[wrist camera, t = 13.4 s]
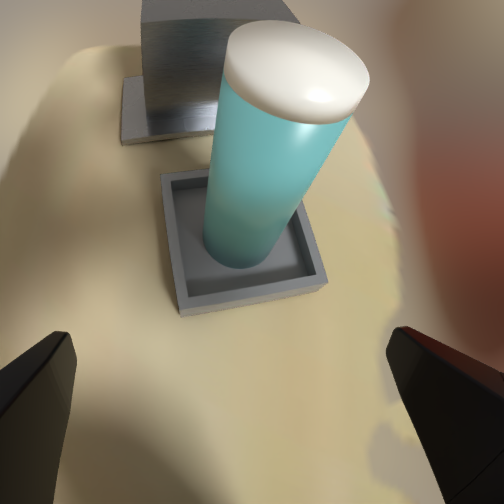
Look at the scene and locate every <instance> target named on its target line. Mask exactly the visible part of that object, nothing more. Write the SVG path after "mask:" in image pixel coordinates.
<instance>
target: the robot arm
mask: <svg viewBox="0 0 504 504" xmlns="http://www.w3.org/2000/svg"><path fill="white" fill-rule="evenodd" d="M386 357H387V360H388V363H389V365H390V368H391V371H392V374H393V377H394V379H395V382H396V385H397V388H398V391H399V394H400V396H401V399H402V401H403V403H404V406H405V408H406V410H407V412H408V414H409V417H410V419H411V421H412V423H413V426H414V428H415V430H416V432H417V435H418V437H419V439H420V442H421V444H422V446H423V449H424V451H425V453H426V456H427V458H428V461H429V463H430V466H431V468H432V471H433V473H434V475H435V478H436V481H437V483H438V485H439V488H440V491H441V493H442V496H443V499H444V501H445V504H504V373H502V372H499V371H498V370H496V369H494V368H492V367H490V366H488V365H486V364H484V363H482V362H480V361H478V360H475V359H473V358H471V357H469V356H467V355H465V354H463V353H461V352H459V351H457V350H455V349H453V348H451V347H449V346H447V345H445V344H443V343H441V342H439V341H437V340H435V339H433V338H431V337H429V336H426V335H424V334H423V333H420V332H419V331H416V330H415V329H412V328H410V327H408V326H402V327H397V328H395V329H394V330H393V332H392V335H391V338H390V340H389V343H388V345H387V348H386ZM76 366H77V357H76V353H75V350H74V346H73V343H72V339H71V336H70V334H69V333H68V332H62V331H54V332H52V333H51V334H50V335H48V336H47V337H45V338H44V339H42V340H41V341H40V342H38V343H37V344H35V345H34V346H33V347H31V348H30V349H28V350H27V351H26V352H24V353H23V354H22V355H20V356H19V357H17V358H16V359H15V360H13V361H12V362H11V363H9V364H8V365H6V366H5V367H4V368H2V369H1V370H0V504H53V500H54V493H55V486H56V480H57V474H58V468H59V462H60V457H61V452H62V447H63V442H64V437H65V432H66V428H67V423H68V419H69V414H70V408H71V400H72V393H73V386H74V379H75V372H76Z"/></svg>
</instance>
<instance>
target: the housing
mask: <svg viewBox="0 0 504 504" xmlns="http://www.w3.org/2000/svg"><path fill="white" fill-rule="evenodd" d="M262 20H278V21H287V22H293V23H298V24H300V22H299V21H298V20H297V18H296V17H295V16H294V15H293V13H292V12H291V11H290V9H289V8H288V7H287V6H286V4H285V3H284V2H283V1H282V0H142V11H141V49H142V69H143V75H142V76H135V77H128V78H124V85H123V103H122V131H121V141H122V146H123V145H129V144H136V143H143V142H150V141H158V140H166V139H174V138H183V137H193V136H204V135H214V129H215V122H216V115H217V108H218V101H219V94H220V87H221V81H222V75H223V68H224V62H225V56H226V50H227V44H228V39H229V36H230V35H231V33H232V32H233V31H234V30H235V29H236V28H238V27H240V26H242V25H244V24H247V23H250V22H255V21H262Z"/></svg>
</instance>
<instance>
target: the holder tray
mask: <svg viewBox="0 0 504 504" xmlns="http://www.w3.org/2000/svg"><path fill="white" fill-rule="evenodd" d="M209 169H210V168H209ZM209 169H200V170H191V171H183V172H175V173H167V174H160V178H161V187H162V196H163V205H164V213H165V221H166V229H167V236H168V243H169V250H170V257H171V264H172V270H173V277H174V283H175V289H176V295H177V300H178V306H179V312H180V317H186V316H192V315H198V314H203V313H209V312H215V311H220V310H226V309H231V308H237V307H242V306H247V305H253V304H258V303H263V302H268V301H273V300H278V299H283V298H288V297H293V296H297V295H302V294H307V293H312V292H316V291H318V290H319V289H320V288H322V287H323V286H324V285H326V284H327V283H328V279H327V276H326V272H325V269H324V266H323V263H322V259H321V256H320V253H319V250H318V247H317V243H316V240H315V237H314V234H313V231H312V228H311V225H310V222H309V219H308V216H307V213H306V210H305V207H304V204H303V201H302V200H301V202H300V203H299V205H298V207H297V208H296V210H295V212H294V213H293V215H292V217H291V218H290V220H289V222H288V223H287V225H286V227H285V228H284V230H283V232H282V233H281V235H280V237H279V238H278V240H277V242H276V243H275V245H274V247H273V248H272V250H271V251H270V253H269V255H268V256H267V257H266V258H265V260H264V261H262V262H261V263H260V264H258V265H256V266H254V267H251V268H247V269H233V268H229V267H226V266H224V265H222V264H220V263H218V262H217V261H216V260H214V259H213V258H212V257H211V256H210V254H209V253H208V251H207V250H206V248H205V245H204V242H203V224H204V214H205V204H206V195H207V186H208V177H209Z"/></svg>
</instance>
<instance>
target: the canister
mask: <svg viewBox="0 0 504 504" xmlns="http://www.w3.org/2000/svg"><path fill="white" fill-rule="evenodd" d="M369 80H370V78H369V73H368V71H367V69H366V67H365V65H364V63H363V62H362V61H361V59H360V58H359V57H358V56H357V55H356V54H355V53H354V52H353V51H352V50H351V49H350V48H349V47H347V46H346V45H345V44H343V43H342V42H340V41H339V40H337V39H335V38H334V37H332V36H330V35H328V34H326V33H324V32H322V31H319V30H317V29H314V28H311V27H308V26H305V25H301V24H298V23H293V22H287V21H278V20H262V21H255V22H250V23H247V24H244V25H242V26H240V27H238V28H236V29H235V30H234V31H233V32H232V33H231V35H230V36H229V39H228V44H227V50H226V56H225V62H224V68H223V75H222V81H221V87H220V94H219V101H218V108H217V115H216V122H215V129H214V137H213V145H212V152H211V160H210V169H209V177H208V186H207V195H206V204H205V214H204V224H203V242H204V245H205V248H206V250H207V251H208V253H209V254H210V256H211V257H212V258H213V259H214V260H216V261H217V262H218V263H220V264H222V265H224V266H226V267H229V268H233V269H247V268H251V267H254V266H256V265H258V264H260V263H261V262H262V261H264V260H265V258H266V257H267V256H268V255H269V253H270V251H271V250H272V248H273V247H274V245H275V243H276V242H277V240H278V238H279V237H280V235H281V233H282V232H283V230H284V228H285V227H286V225H287V223H288V222H289V220H290V218H291V217H292V215H293V213H294V212H295V210H296V208H297V207H298V205H299V203H300V202H301V200H302V198H303V197H304V195H305V193H306V192H307V190H308V188H309V187H310V185H311V183H312V182H313V180H314V178H315V177H316V175H317V173H318V172H319V170H320V168H321V167H322V165H323V163H324V161H325V160H326V158H327V156H328V155H329V153H330V151H331V150H332V148H333V146H334V145H335V143H336V141H337V139H338V138H339V136H340V134H341V133H342V131H343V129H344V128H345V126H346V124H347V122H348V121H349V119H350V117H351V116H352V114H353V112H354V110H355V109H356V107H357V105H358V104H359V102H360V100H361V98H362V97H363V95H364V93H365V91H366V90H367V88H368V86H369Z"/></svg>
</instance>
